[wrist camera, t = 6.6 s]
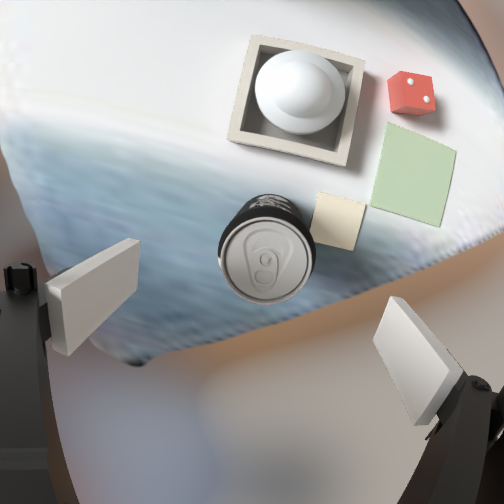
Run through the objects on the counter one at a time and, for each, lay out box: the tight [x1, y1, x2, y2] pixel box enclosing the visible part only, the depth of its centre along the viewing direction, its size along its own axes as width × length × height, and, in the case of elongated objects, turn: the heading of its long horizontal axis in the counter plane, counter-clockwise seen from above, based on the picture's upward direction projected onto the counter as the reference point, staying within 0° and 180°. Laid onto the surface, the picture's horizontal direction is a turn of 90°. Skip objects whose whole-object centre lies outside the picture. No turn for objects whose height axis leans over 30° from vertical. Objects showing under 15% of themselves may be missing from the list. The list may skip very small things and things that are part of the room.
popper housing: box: [227, 35, 365, 166], centre depth 25 cm, size 11×11×2 cm
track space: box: [309, 192, 366, 251], centre depth 29 cm, size 5×5×1 cm
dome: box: [255, 50, 345, 135], centre depth 22 cm, size 8×8×5 cm
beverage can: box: [218, 194, 316, 305], centre depth 24 cm, size 7×7×12 cm
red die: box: [387, 71, 436, 115], centre depth 23 cm, size 4×4×4 cm
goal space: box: [369, 122, 456, 227], centre depth 27 cm, size 9×9×1 cm
